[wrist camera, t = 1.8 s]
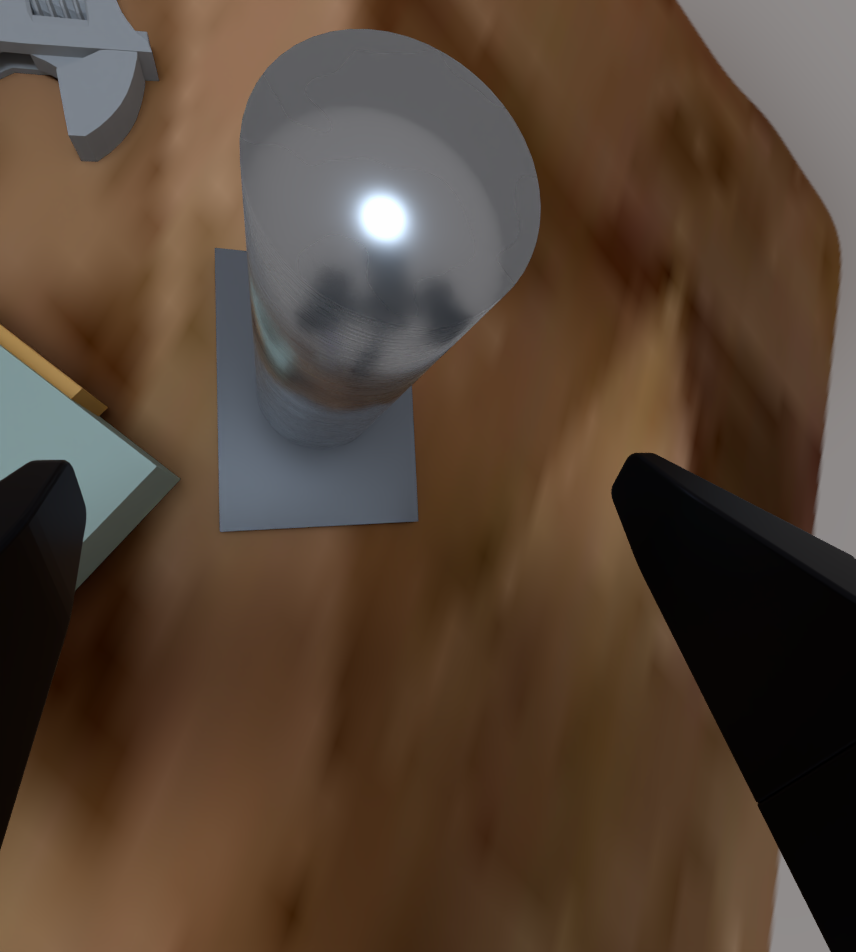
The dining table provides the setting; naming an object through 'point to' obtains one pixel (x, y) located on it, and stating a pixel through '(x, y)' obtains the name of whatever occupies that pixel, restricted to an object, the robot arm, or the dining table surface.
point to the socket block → (75, 448)
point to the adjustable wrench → (81, 64)
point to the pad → (289, 464)
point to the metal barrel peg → (373, 223)
